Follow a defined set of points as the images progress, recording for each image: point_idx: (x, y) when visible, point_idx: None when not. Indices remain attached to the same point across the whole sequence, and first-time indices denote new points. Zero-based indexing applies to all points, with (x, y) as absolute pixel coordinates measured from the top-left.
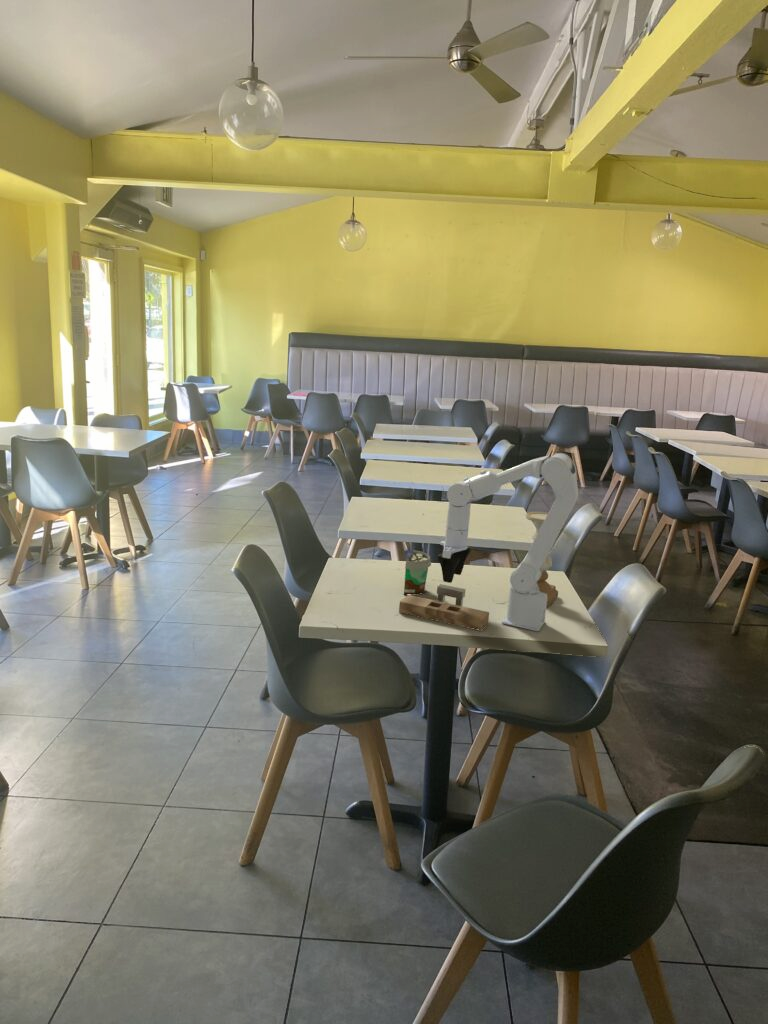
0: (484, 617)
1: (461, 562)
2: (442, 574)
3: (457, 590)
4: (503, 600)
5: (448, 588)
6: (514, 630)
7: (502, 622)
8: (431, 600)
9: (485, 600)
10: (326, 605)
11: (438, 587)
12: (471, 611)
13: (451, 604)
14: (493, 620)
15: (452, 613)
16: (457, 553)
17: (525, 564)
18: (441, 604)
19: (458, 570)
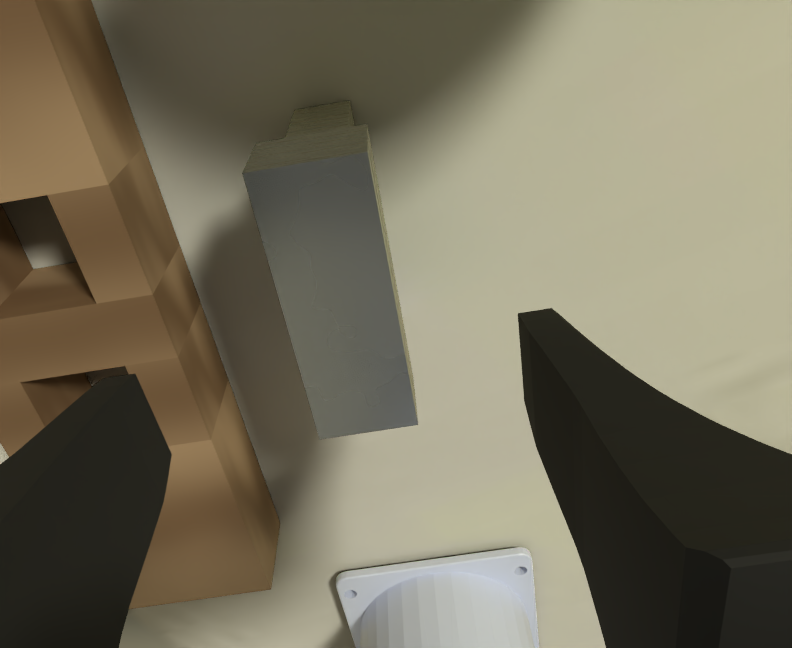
0: (151, 605)
1: (585, 543)
2: (39, 432)
3: (319, 389)
4: (786, 429)
5: (297, 299)
6: (303, 631)
7: (336, 581)
8: (79, 174)
9: (714, 345)
10: None
11: (249, 185)
12: (172, 518)
13: (167, 360)
14: (355, 522)
15: (6, 447)
16: (641, 623)
17: None
18: (93, 293)
19: (535, 420)
